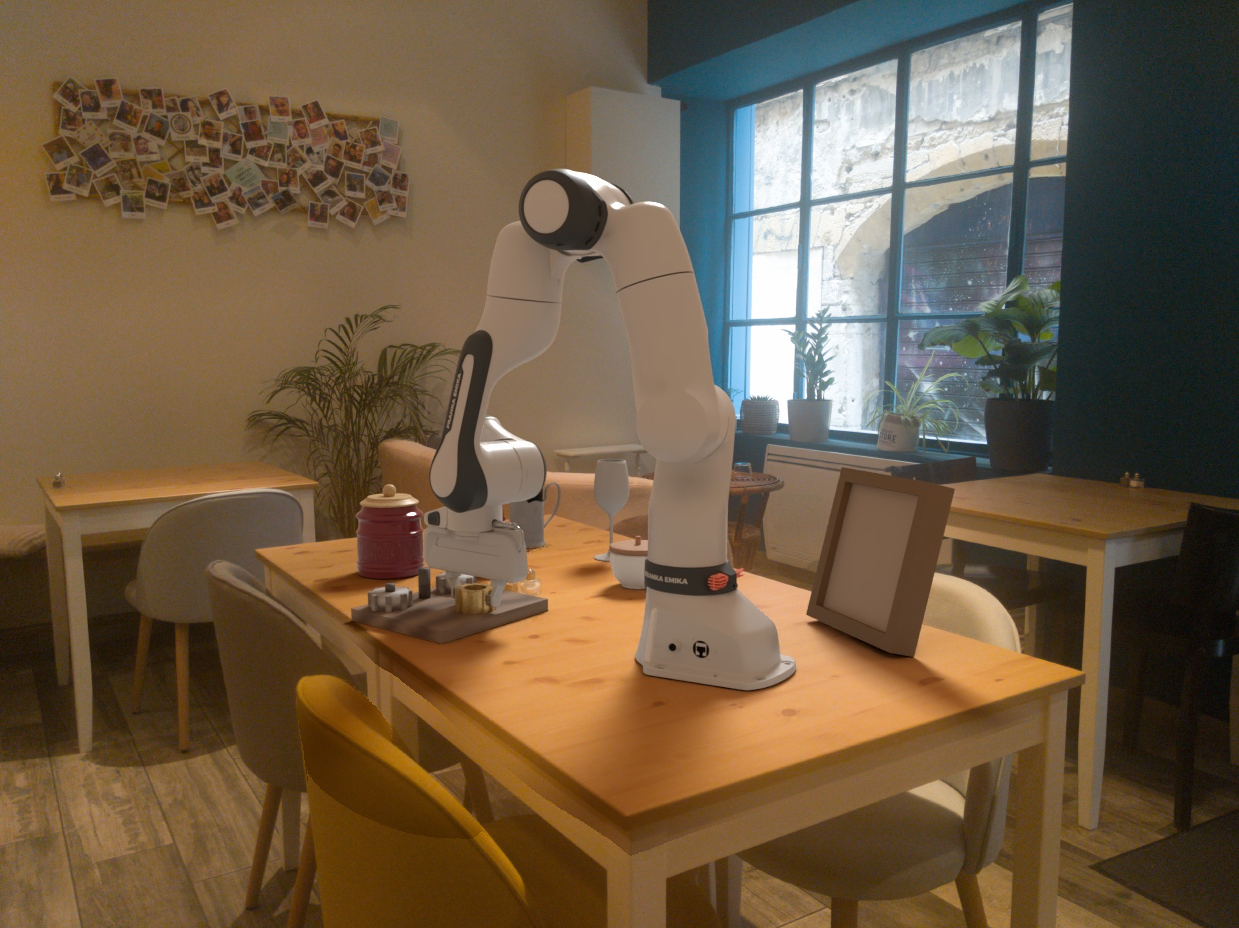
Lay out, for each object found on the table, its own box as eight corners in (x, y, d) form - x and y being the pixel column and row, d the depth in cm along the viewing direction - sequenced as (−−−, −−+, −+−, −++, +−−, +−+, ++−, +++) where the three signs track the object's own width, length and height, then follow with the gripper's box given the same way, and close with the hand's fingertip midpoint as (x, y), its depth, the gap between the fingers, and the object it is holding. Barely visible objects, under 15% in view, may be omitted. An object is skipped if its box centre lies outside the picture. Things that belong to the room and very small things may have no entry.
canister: (401, 582, 179) (400, 490, 177) (343, 577, 183) (341, 486, 181) (436, 568, 191) (435, 481, 189) (381, 563, 195) (379, 479, 193)
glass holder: (499, 544, 217) (499, 479, 215) (548, 536, 227) (548, 474, 225) (522, 549, 211) (522, 483, 209) (571, 541, 220) (571, 478, 219)
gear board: (548, 610, 159) (547, 569, 158) (441, 643, 140) (441, 597, 139) (460, 592, 171) (459, 554, 171) (351, 620, 152) (350, 577, 151)
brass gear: (504, 607, 153) (504, 586, 152) (475, 616, 147) (475, 594, 147) (475, 601, 156) (475, 580, 156) (446, 609, 151) (446, 588, 151)
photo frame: (889, 659, 133) (897, 483, 131) (805, 620, 153) (811, 467, 151) (973, 650, 138) (983, 481, 136) (881, 613, 159) (888, 465, 156)
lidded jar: (623, 594, 170) (623, 543, 169) (600, 582, 180) (600, 533, 179) (676, 589, 175) (676, 539, 174) (650, 577, 184) (651, 529, 183)
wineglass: (635, 557, 203) (636, 460, 201) (616, 563, 197) (617, 463, 195) (606, 553, 207) (606, 458, 205) (586, 559, 201) (586, 460, 199)
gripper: (536, 521, 147) (537, 608, 148) (445, 508, 159) (446, 589, 160) (508, 526, 142) (509, 616, 143) (416, 513, 154) (418, 596, 155)
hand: (475, 602), depth 152 cm, fingers closed on brass gear, 6 cm apart
